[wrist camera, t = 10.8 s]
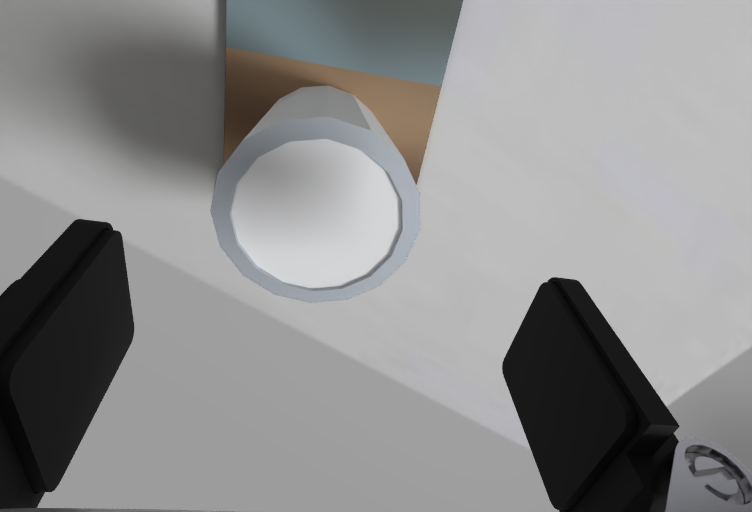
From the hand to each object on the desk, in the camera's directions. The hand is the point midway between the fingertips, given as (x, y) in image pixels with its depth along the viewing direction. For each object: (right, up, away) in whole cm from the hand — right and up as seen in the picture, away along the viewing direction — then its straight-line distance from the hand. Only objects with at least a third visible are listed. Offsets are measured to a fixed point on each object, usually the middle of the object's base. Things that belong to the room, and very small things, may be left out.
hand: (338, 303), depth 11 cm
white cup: (-2, +6, +11) cm, 12 cm away
